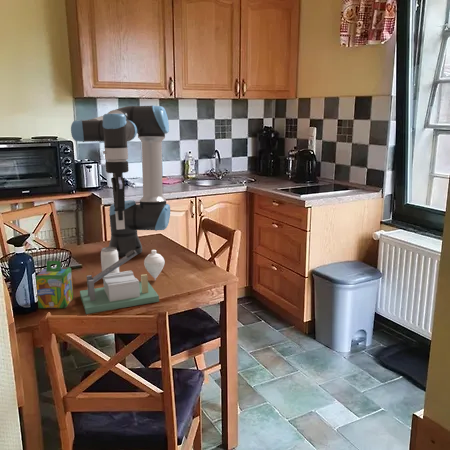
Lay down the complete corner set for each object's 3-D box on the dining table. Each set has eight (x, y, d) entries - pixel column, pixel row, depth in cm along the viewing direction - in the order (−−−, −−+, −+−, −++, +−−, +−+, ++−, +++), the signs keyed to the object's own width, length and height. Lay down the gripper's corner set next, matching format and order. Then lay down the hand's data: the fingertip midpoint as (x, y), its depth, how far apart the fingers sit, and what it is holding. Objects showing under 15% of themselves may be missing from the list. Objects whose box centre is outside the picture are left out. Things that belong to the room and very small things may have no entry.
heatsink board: (80, 296, 164) (78, 271, 162) (147, 285, 173) (146, 262, 171) (86, 314, 150) (83, 287, 148) (159, 301, 159) (157, 276, 157)
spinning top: (166, 282, 176) (165, 252, 173) (146, 285, 174) (144, 254, 171) (163, 275, 183) (162, 246, 180) (143, 278, 181) (142, 248, 178)
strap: (89, 282, 158) (86, 279, 157) (135, 251, 162) (133, 248, 161) (90, 285, 155) (88, 282, 154) (138, 254, 159) (135, 251, 158)
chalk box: (38, 309, 154) (33, 266, 150) (47, 298, 163) (43, 257, 159) (66, 308, 154) (61, 266, 150) (74, 297, 163) (70, 257, 159)
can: (123, 276, 183) (121, 247, 180) (113, 282, 177) (111, 252, 174) (108, 275, 185) (106, 245, 182) (99, 280, 179) (96, 250, 176)
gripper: (102, 159, 163) (107, 226, 168) (107, 162, 151) (112, 233, 156) (124, 158, 165) (128, 224, 170) (131, 161, 153) (134, 231, 158)
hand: (120, 228), depth 163 cm, fingers closed
